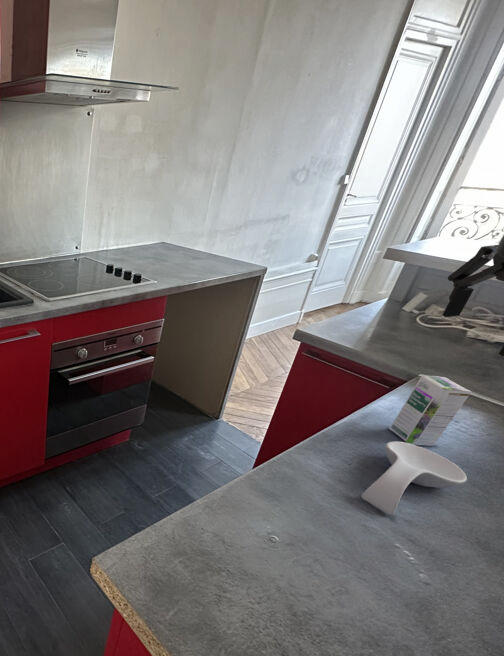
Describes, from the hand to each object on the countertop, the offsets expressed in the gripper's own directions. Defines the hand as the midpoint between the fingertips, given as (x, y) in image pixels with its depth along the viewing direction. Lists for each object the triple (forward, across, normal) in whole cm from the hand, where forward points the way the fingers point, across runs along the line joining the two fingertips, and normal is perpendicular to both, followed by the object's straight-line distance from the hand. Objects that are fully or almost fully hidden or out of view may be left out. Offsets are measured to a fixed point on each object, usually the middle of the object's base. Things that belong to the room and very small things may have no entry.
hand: (477, 333), depth 83 cm
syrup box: (+22, +7, -9) cm, 25 cm away
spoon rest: (+17, +23, -22) cm, 36 cm away
